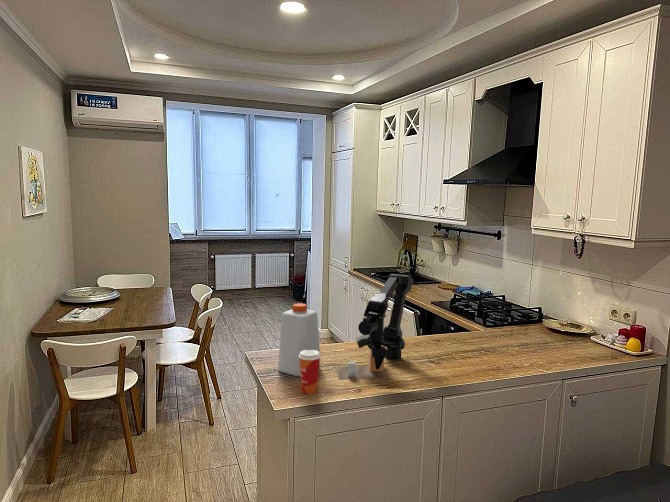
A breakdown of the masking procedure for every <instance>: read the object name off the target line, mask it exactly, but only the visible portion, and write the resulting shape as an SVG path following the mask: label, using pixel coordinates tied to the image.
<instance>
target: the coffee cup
mask: <svg viewBox="0 0 670 502" xmlns="http://www.w3.org/2000/svg"><path fill="white" fill-rule="evenodd" d="M299 358H300V376H301V377H300V390H301V393H302V394H304V395H308V396H309V395H314V394H317V393H318V390H319V389H318V388H319V373H320V368H319V361H320V362H321V354H320V353H319V351H317V350H303V351H301V352H300V355H299Z"/></svg>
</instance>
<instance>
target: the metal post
mask: <svg viewBox="0 0 670 502" xmlns="http://www.w3.org/2000/svg"><path fill="white" fill-rule="evenodd" d="M347 366H348V378H356V366H357V363H356V361H347Z"/></svg>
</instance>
